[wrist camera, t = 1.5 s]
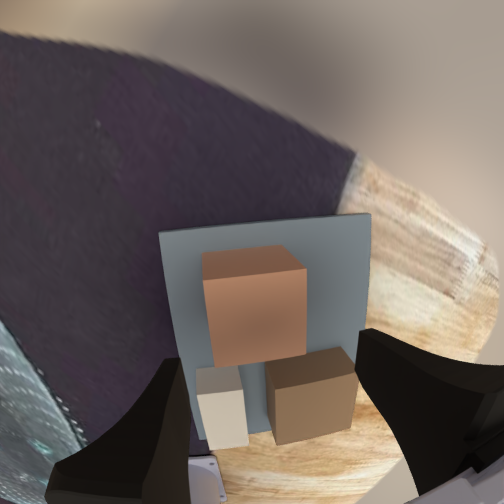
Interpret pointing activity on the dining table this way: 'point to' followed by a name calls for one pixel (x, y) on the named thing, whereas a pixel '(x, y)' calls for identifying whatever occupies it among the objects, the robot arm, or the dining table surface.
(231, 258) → the terracotta block
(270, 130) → the dining table surface
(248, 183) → the dining table surface
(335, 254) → the board
